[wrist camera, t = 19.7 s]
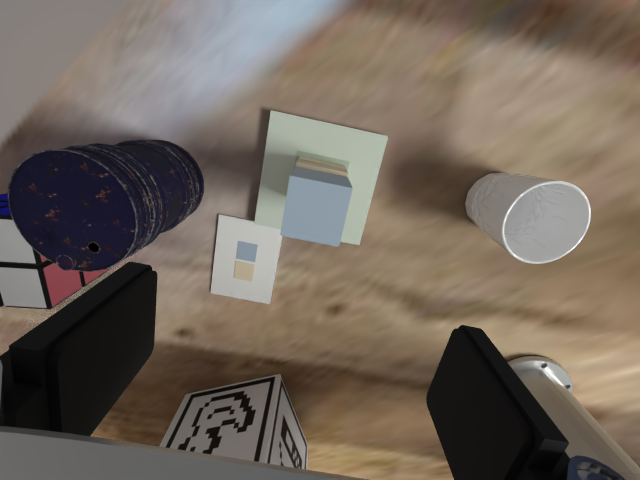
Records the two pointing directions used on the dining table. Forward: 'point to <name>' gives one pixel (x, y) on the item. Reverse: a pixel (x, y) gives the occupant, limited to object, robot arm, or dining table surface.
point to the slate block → (316, 206)
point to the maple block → (322, 166)
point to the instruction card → (245, 259)
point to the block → (241, 424)
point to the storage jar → (102, 200)
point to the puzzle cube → (32, 271)
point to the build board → (326, 145)
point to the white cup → (529, 214)
